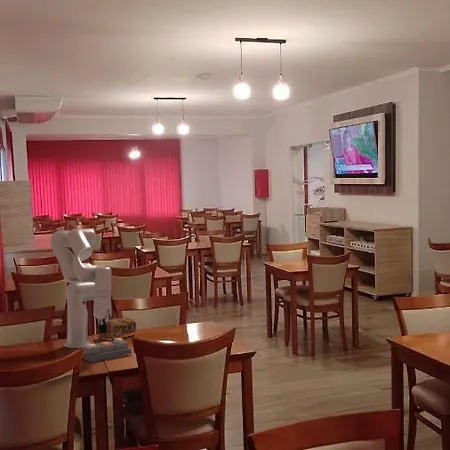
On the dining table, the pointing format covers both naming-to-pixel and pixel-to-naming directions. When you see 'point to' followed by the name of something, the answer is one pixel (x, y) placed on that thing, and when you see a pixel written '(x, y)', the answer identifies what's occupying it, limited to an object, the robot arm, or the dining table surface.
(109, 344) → the terracotta button
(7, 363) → the dining table surface
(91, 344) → the cream button
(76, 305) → the robot arm
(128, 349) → the button panel
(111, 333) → the bread
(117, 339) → the sage button
